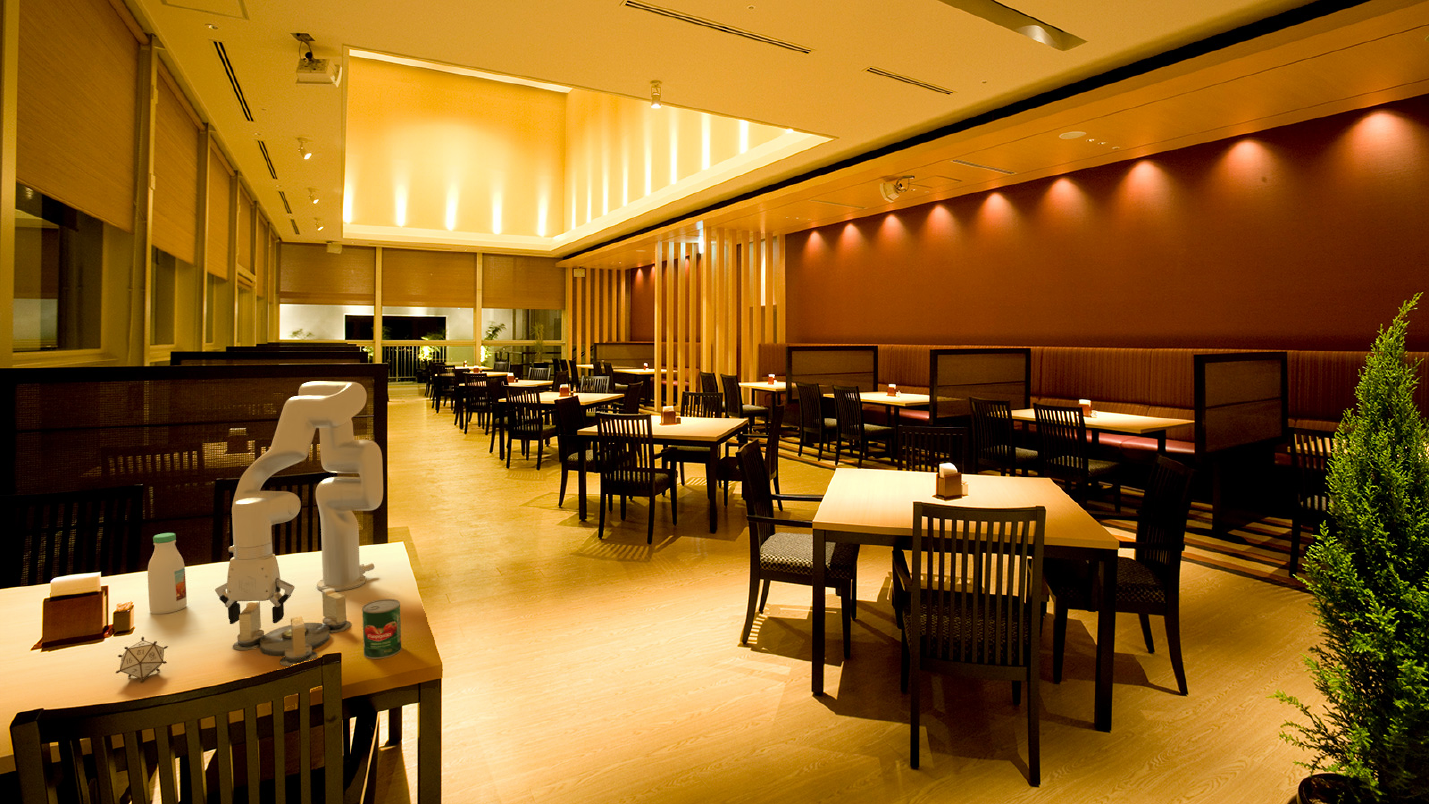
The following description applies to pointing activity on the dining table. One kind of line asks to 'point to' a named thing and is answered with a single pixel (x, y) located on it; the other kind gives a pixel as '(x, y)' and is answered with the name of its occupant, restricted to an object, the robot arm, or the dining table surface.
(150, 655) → the game die
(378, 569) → the dining table surface
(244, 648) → the plate
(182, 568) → the milk bottle
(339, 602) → the knob near
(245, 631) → the knob
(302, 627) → the knob
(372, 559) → the dining table surface
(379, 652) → the canned tomato
